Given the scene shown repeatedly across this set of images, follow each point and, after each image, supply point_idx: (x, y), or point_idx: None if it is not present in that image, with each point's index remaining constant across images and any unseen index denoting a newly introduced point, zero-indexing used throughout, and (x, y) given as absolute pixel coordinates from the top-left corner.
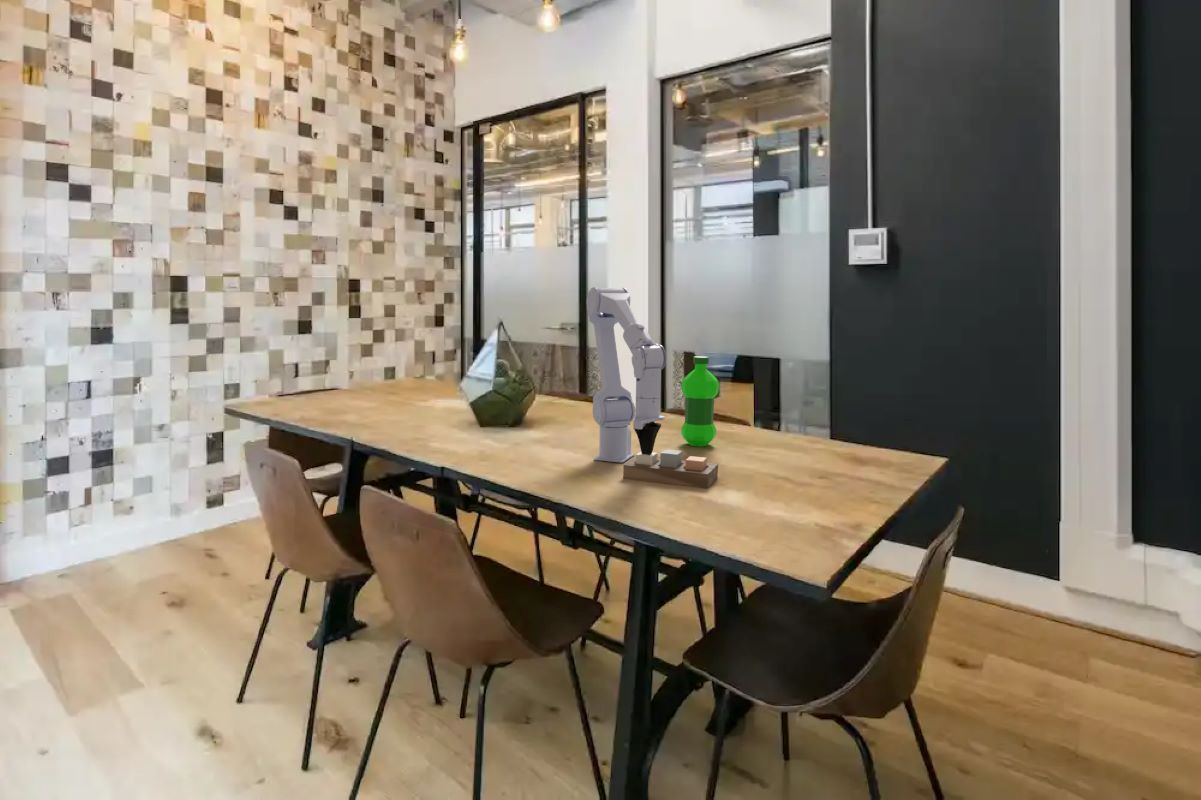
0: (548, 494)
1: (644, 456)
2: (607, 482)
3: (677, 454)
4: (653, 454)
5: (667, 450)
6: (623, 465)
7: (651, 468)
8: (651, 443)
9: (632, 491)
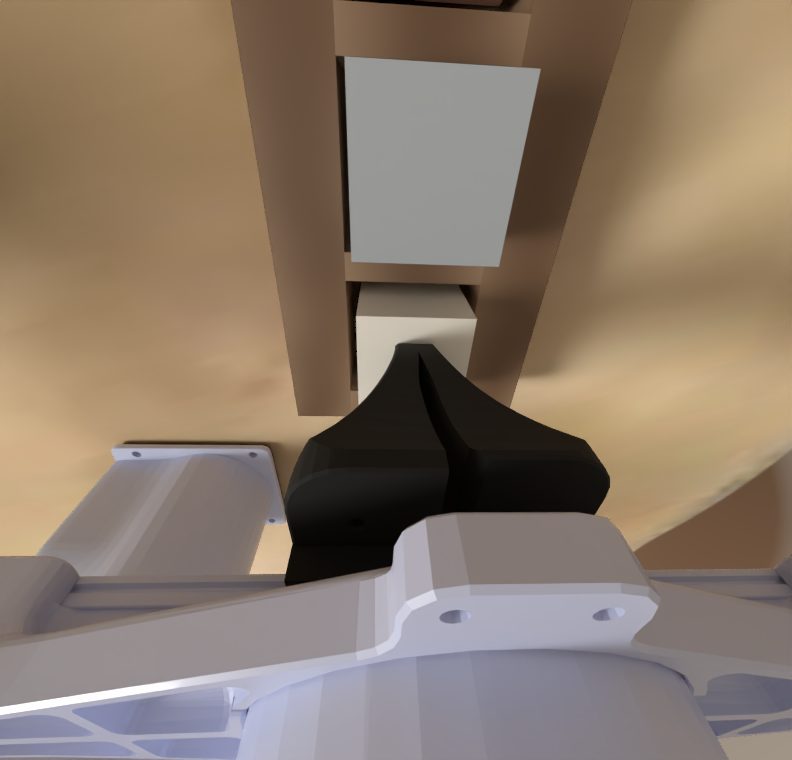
0: (704, 493)
1: (465, 364)
2: (558, 409)
3: (533, 68)
4: (418, 326)
5: (385, 233)
6: None
7: (547, 276)
8: (468, 380)
9: (699, 289)
